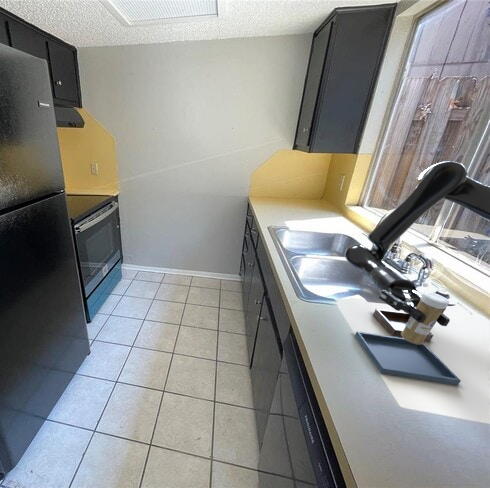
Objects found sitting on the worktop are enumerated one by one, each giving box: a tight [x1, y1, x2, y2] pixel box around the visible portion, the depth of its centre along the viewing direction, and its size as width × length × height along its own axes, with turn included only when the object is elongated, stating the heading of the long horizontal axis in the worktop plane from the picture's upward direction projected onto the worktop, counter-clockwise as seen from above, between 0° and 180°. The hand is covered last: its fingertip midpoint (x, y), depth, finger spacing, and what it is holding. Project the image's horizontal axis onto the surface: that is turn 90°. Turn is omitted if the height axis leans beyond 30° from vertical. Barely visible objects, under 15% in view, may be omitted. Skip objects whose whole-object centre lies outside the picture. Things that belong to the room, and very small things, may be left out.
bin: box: [372, 308, 434, 343], centre depth 81 cm, size 10×10×3 cm
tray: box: [354, 331, 462, 386], centre depth 70 cm, size 17×13×2 cm
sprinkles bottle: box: [401, 291, 450, 345], centre depth 64 cm, size 5×5×14 cm
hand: (434, 321), depth 61 cm, fingers closed on sprinkles bottle, 4 cm apart
